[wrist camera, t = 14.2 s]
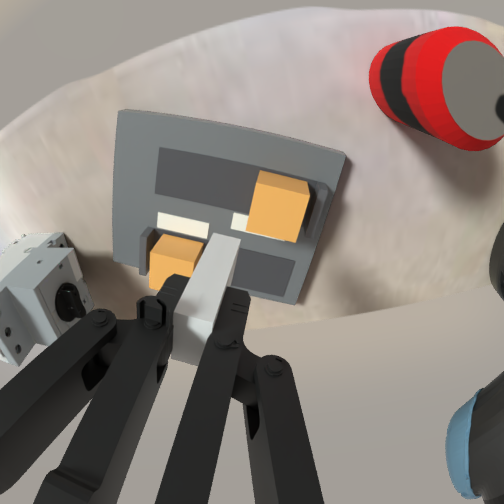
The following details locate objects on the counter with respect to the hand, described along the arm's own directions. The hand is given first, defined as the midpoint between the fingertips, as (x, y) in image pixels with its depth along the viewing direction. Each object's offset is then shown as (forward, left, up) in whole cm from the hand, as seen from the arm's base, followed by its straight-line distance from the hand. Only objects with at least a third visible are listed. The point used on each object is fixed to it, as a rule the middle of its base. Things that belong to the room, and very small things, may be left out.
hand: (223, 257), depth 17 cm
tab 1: (+5, +8, -11) cm, 14 cm away
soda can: (-11, -13, -13) cm, 22 cm away
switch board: (+3, +3, -13) cm, 13 cm away
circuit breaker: (+21, +14, -13) cm, 28 cm away
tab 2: (-3, 0, -11) cm, 11 cm away
